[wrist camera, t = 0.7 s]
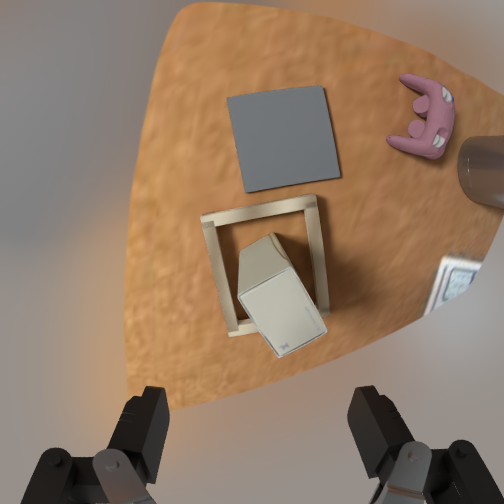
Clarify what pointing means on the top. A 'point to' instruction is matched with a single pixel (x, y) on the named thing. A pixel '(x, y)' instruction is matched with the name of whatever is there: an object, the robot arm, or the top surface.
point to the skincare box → (277, 297)
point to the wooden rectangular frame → (257, 211)
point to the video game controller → (437, 123)
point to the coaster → (283, 137)
